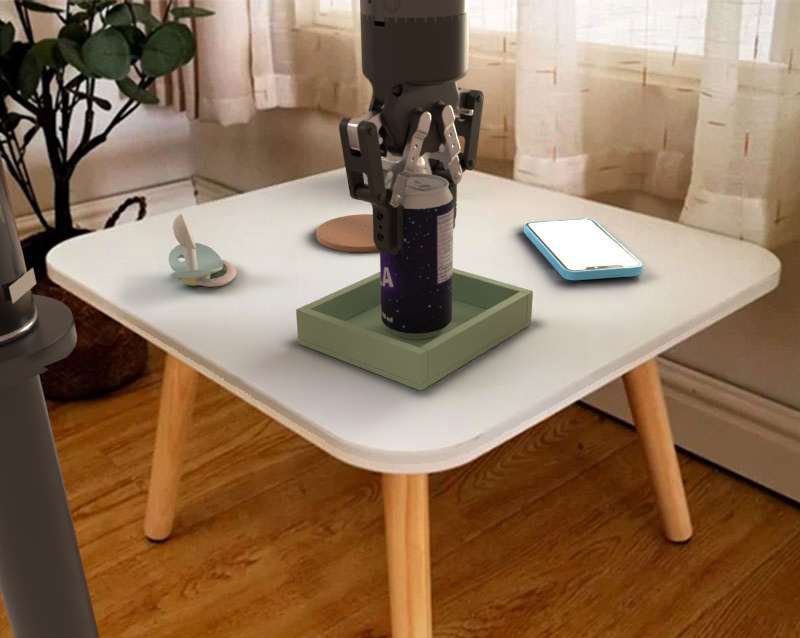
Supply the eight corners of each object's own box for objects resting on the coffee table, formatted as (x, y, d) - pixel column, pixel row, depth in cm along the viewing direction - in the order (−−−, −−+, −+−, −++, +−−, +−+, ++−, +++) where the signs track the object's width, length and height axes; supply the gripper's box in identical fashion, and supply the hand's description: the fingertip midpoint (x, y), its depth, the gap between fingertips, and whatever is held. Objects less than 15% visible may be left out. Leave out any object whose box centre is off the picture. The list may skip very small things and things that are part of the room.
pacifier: (232, 262, 91) (168, 267, 90) (227, 199, 88) (162, 203, 87) (241, 291, 85) (173, 296, 84) (236, 224, 82) (166, 229, 81)
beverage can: (418, 307, 80) (417, 167, 74) (466, 328, 76) (469, 182, 70) (367, 327, 77) (362, 182, 71) (415, 350, 73) (414, 199, 67)
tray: (420, 391, 68) (420, 354, 67) (298, 343, 75) (295, 309, 74) (531, 324, 78) (533, 290, 76) (413, 287, 85) (413, 256, 84)
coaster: (369, 259, 91) (369, 254, 91) (296, 238, 97) (296, 232, 96) (433, 232, 98) (433, 226, 97) (361, 213, 103) (361, 208, 103)
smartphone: (591, 217, 98) (646, 266, 85) (590, 228, 99) (644, 278, 86) (521, 222, 98) (566, 272, 84) (521, 233, 98) (565, 284, 85)
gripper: (436, -9, 71) (435, 208, 80) (301, 13, 62) (316, 256, 70) (519, -2, 67) (509, 226, 75) (388, 22, 57) (393, 280, 66)
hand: (416, 239), depth 73 cm, fingers closed on beverage can, 5 cm apart
